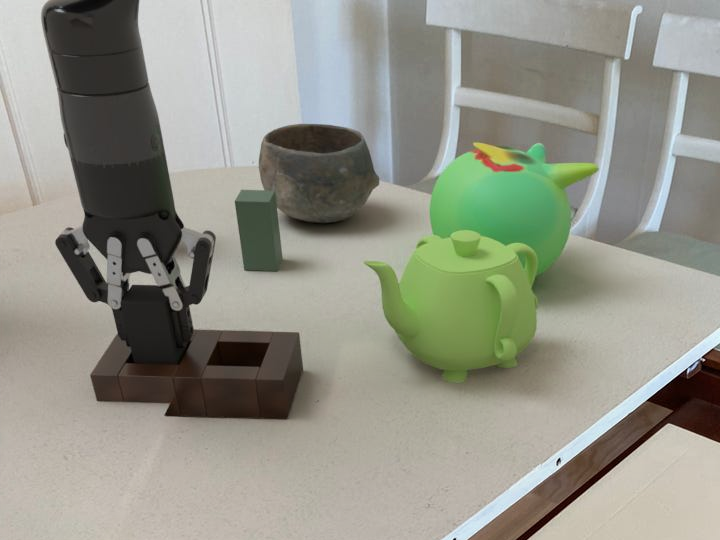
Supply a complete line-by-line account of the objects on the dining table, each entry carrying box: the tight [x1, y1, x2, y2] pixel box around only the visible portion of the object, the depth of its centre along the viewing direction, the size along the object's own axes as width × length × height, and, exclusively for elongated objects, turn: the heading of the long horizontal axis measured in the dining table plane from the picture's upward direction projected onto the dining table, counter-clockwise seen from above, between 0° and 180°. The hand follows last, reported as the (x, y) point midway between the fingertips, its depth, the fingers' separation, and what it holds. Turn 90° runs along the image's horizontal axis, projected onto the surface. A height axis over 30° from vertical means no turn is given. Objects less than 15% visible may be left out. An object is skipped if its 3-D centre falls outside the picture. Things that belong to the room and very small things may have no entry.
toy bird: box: [429, 141, 600, 277], centre depth 113 cm, size 18×17×15 cm
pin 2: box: [234, 189, 283, 272], centre depth 115 cm, size 4×4×8 cm
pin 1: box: [120, 284, 187, 365], centre depth 91 cm, size 4×4×8 cm
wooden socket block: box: [89, 328, 304, 420], centre depth 93 cm, size 18×10×4 cm, turn 89°
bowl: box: [258, 123, 380, 224], centre depth 127 cm, size 14×15×10 cm
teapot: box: [362, 230, 539, 384], centre depth 96 cm, size 16×14×13 cm
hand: (158, 343), depth 91 cm, fingers closed on pin 1, 4 cm apart
